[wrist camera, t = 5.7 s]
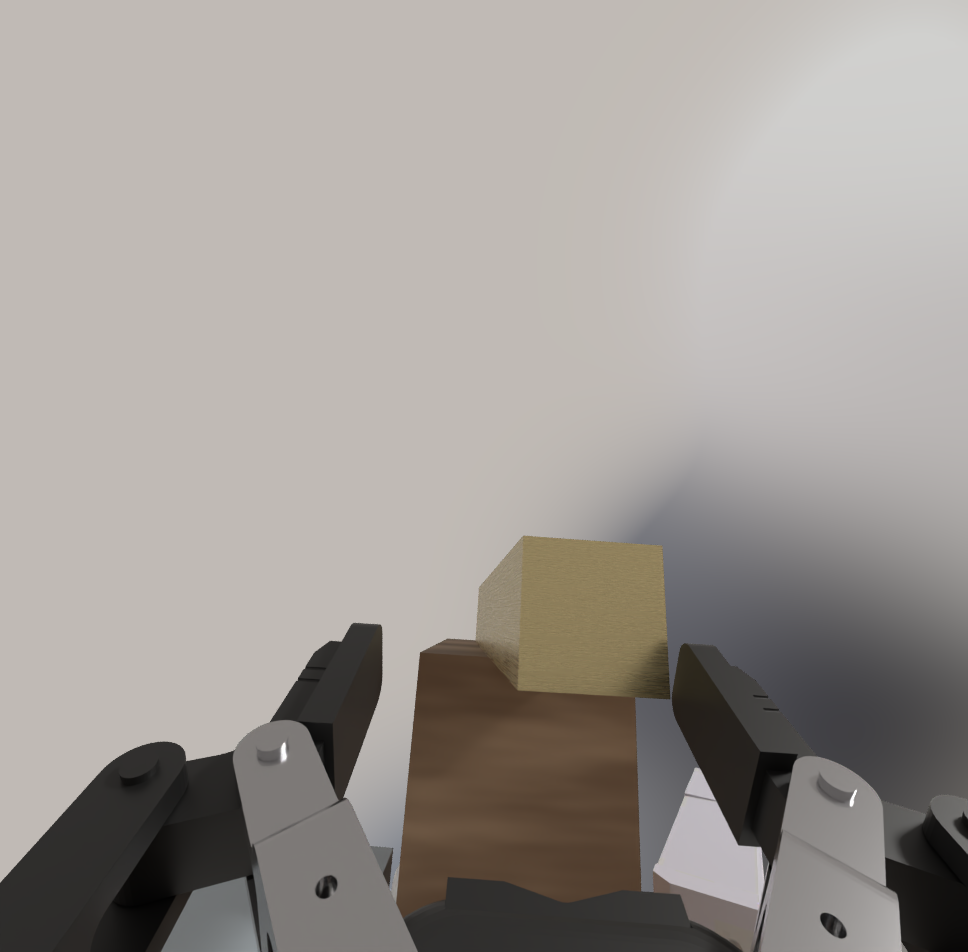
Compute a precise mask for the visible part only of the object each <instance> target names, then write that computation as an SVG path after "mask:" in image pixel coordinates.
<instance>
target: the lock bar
mask: <svg viewBox="0 0 968 952" xmlns="http://www.w3.org/2000/svg"><path fill="white" fill-rule="evenodd" d="M476 643H477V644H478V645H479V646H480V648H481V649H482V650H483V651H484V652H485V653H486V654H487V656H488V657H489V658H490V659H491V660H492V661H493V663H494V664H495V665H496V666H497V667H498V668H499V669H500V671H501V672H502V673H503V674H504V675H505V676H506V678H507V679H508V680H509V681H510V682H511V683H512V684H513V686H514V687H515V688H516V689H517V690H520V691H537V692H554V693H571V694H588V695H605V696H623V697H640V698H657V699H670V685H669V665H668V646H667V627H666V609H665V589H664V570H663V552H662V546H657V545H643V544H628V543H616V542H601V541H588V540H587V541H586V540H574V539H561V538H547V537H533V536H523V537H522V538H521V539H520V540H519V541H518V543H517V544H516V545H515V546H514V547H513V549H512V550H511V551H510V552H509V553H508V554H507V555H506V557H505V558H504V559H503V560H502V561H501V562H500V564H499V565H498V566H497V567H496V568H495V569H494V571H493V572H492V573H491V574H490V575H489V576H488V578H487V579H486V580H485V581H484V582H483V584H482V585H481V586H480V587H479V596H478V612H477V628H476Z"/></svg>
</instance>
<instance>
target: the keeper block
mask: <svg viewBox="0 0 968 952" xmlns="http://www.w3.org/2000/svg"><path fill="white" fill-rule="evenodd" d="M370 847H371V849H372V851H373V853H374V855H375V858H376V860H377V862H378V864H379V867H380V869H381V871H382V873H383V875H384V878H385V880H386V882H387V884H388V887H389V884H390V883H389V882H390V874H391V864H392V854H393V848H386V847H373V846H370ZM161 952H258V949H257V944H256V938H255V933H254V928H253V922H252V917H251V911H250V906H249V901H248V895H247V890H246V885H245V879H244V877H242V878H238V879H235V880H231V881H227V882H223V883H220V884H216V885H212V886H209V887H205V888H201V889H197V890H194V891H193V892H192V894H191V895H190V897H189V899H188V901H187V903H186V905H185V907H184V909H183V911H182V913H181V914H180V916H179V918H178V920H177V922H176V924H175V926H174V928H173V930H172V932H171V934H170V935H169V937H168V939H167V941H166V943H165V945H164V947H163V949H162V951H161Z"/></svg>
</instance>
